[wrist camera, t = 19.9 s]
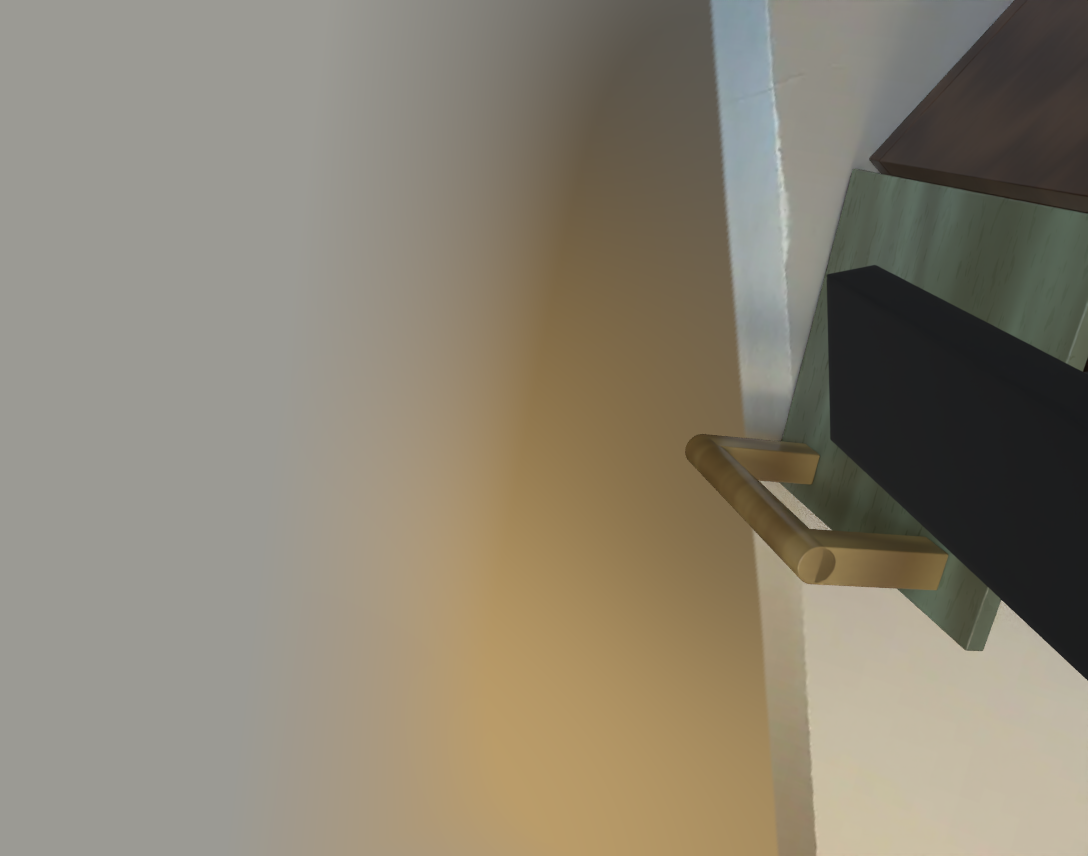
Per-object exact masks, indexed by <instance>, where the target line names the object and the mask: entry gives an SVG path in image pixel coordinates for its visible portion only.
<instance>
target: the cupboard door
mask: <svg viewBox="0 0 1088 856" xmlns="http://www.w3.org/2000/svg"><path fill="white" fill-rule="evenodd" d="M871 265H877V266H879V267H881V268H882V269H884V270H886V271H888V272H890V273H892V274H894V275H896V276H898V277H900V278H902V279H904V280H906V281H908V282H910V283H912V284H913V285H915V286H917V287H919V288H921V289H923V290H925V291H927V292H929V293H931V294H933V295H935V296H937V297H939V298H941V299H943V300H945V301H946V302H948V303H950V304H952V305H954V306H956V307H958V308H960V309H962V310H964V311H966V312H968V313H970V314H972V315H974V316H976V317H977V318H979V319H981V320H983V321H985V322H987V323H989V324H991V325H993V326H995V327H997V328H999V329H1001V330H1003V331H1005V332H1007V333H1009V334H1010V335H1012V336H1014V337H1016V338H1018V339H1020V340H1022V341H1024V342H1026V343H1028V344H1030V345H1032V346H1034V347H1036V348H1038V349H1040V350H1041V351H1043V352H1045V353H1047V354H1049V355H1051V356H1053V357H1055V358H1057V359H1059V360H1061V361H1063V362H1065V363H1067V364H1069V365H1071V366H1073V367H1074V368H1076V369H1078V370H1080V371H1082V372H1083V370H1084V367H1085V364H1086V361H1087V358H1088V213H1083V212H1078V211H1073V210H1067V209H1062V208H1057V207H1052V206H1047V205H1041V204H1036V203H1031V202H1026V201H1021V200H1015V199H1010V198H1005V197H1000V196H995V195H989V194H984V193H979V192H974V191H969V190H963V189H958V188H953V187H948V186H943V185H937V184H932V183H927V182H922V181H916V180H911V179H906V178H901V177H896V176H890V175H885V174H880V173H875V172H870V171H864V170H859V169H853V171H852V175H851V179H850V183H849V187H848V190H847V194H846V198H845V202H844V206H843V209H842V213H841V217H840V221H839V225H838V228H837V232H836V236H835V240H834V244H833V248H832V251H831V255H830V259H829V263H828V267H827V270H826V274H825V278H824V282H823V286H822V289H821V293H820V297H819V301H818V305H817V309H816V312H815V316H814V320H813V324H812V328H811V331H810V335H809V339H808V343H807V347H806V350H805V354H804V358H803V362H802V366H801V369H800V373H799V377H798V381H797V385H796V389H795V392H794V396H793V400H792V404H791V408H790V411H789V415H788V419H787V423H786V427H785V430H784V434H783V438H782V441H771V440H760V439H749V438H738V437H728V436H717V435H706V434H700V435H696V436H694V437H693V438H692V439H691V440H690V441H689V442H688V444H687V446H686V451H685V453H686V457H687V459H688V460H689V462H690V463H691V464H692V465H693V466H694V467H695V468H696V469H697V470H698V471H699V472H700V473H701V474H702V475H703V476H704V477H705V479H706V480H707V481H708V482H709V483H710V484H711V485H712V486H713V487H714V488H715V489H716V490H717V491H718V492H719V493H720V494H721V495H722V497H723V498H724V499H725V500H726V501H727V502H728V503H729V504H730V505H731V506H732V507H733V508H734V509H735V510H736V511H737V512H738V513H739V515H740V516H741V517H742V518H743V519H744V520H745V521H746V522H747V523H748V524H749V525H750V526H751V527H752V528H753V529H754V531H755V532H756V533H757V534H758V535H759V536H760V537H761V538H762V539H763V540H764V541H765V542H766V543H767V544H768V545H769V546H770V548H771V549H772V550H773V551H774V552H775V553H776V554H777V555H778V556H779V557H780V558H781V559H782V560H783V561H784V562H785V563H786V565H787V566H788V567H789V568H790V569H791V570H792V571H793V572H794V573H795V574H796V575H797V576H798V577H799V578H800V579H801V580H802V581H803V582H805V583H807V584H819V585H839V586H859V587H879V588H897V589H898V590H899V591H900V592H901V593H902V594H904V595H905V596H906V597H907V598H908V599H909V600H910V601H911V602H912V603H914V604H915V605H916V606H917V607H918V608H919V609H920V610H921V611H922V612H924V613H925V614H926V615H927V616H928V617H929V618H930V619H931V620H932V621H934V622H935V623H936V624H937V625H938V626H939V627H940V628H941V629H942V630H943V631H945V632H946V633H947V634H948V635H949V636H950V637H951V638H952V639H953V640H955V641H956V642H957V643H958V644H959V645H960V646H961V647H962V648H963V649H965V650H967V651H983V649H984V646H985V644H986V641H987V638H988V635H989V632H990V630H991V627H992V624H993V621H994V619H995V616H996V613H997V610H998V607H999V605H1000V602H1001V599H1000V598H999V597H998V596H997V595H996V594H995V593H994V592H993V591H992V590H991V589H989V588H988V587H987V586H986V585H985V584H984V583H983V582H982V581H981V580H980V579H979V578H978V577H977V576H976V575H975V574H973V573H972V572H971V571H970V570H969V569H968V568H967V567H966V566H965V565H964V564H963V563H962V562H961V561H960V560H958V559H957V558H956V557H955V556H954V555H953V554H952V553H951V552H950V551H949V550H948V549H947V548H946V547H945V546H944V545H942V544H941V543H940V542H939V541H938V540H937V539H936V538H935V537H934V536H933V535H932V534H931V533H930V532H929V531H928V530H926V529H925V528H924V527H923V526H922V525H921V524H920V523H919V522H918V521H917V520H916V519H915V518H914V517H913V516H911V515H910V514H909V513H908V512H907V511H906V510H905V509H904V508H903V507H902V506H901V505H900V504H899V503H898V502H897V501H895V500H894V499H893V498H892V497H891V496H890V495H889V494H888V493H887V492H886V491H885V490H884V489H883V488H882V487H880V486H879V485H878V484H877V483H876V482H875V481H874V480H873V479H872V478H871V477H870V476H869V475H868V474H867V473H866V472H864V471H863V470H862V469H861V468H860V467H859V466H858V465H857V464H856V463H855V462H854V461H853V460H852V459H851V458H850V457H848V456H847V455H846V454H845V453H844V452H843V451H842V450H841V449H840V448H839V447H838V446H837V445H836V444H835V443H833V442H832V441H831V440H830V404H829V360H828V317H827V274H831V273H836V272H841V271H846V270H851V269H856V268H861V267H866V266H871ZM758 480H760V481H772V482H779V483H780V484H781V485H783V486H784V487H785V488H786V489H787V490H788V491H789V492H790V493H791V494H793V495H794V496H795V497H796V498H797V499H798V500H799V501H800V502H801V503H803V504H804V505H805V506H806V507H807V508H808V509H809V510H810V511H811V512H813V513H814V514H815V515H816V516H817V517H818V518H819V519H820V520H821V521H823V522H824V523H825V524H826V525H827V526H828V527H829V528H830V529H831V530H817V529H809V528H808V527H807V526H806V525H805V524H804V523H803V522H802V521H801V520H800V519H799V518H797V517H796V516H795V515H794V514H793V513H792V512H791V511H790V510H789V509H788V508H787V507H786V506H785V505H784V504H783V503H781V502H780V501H779V500H778V499H777V498H776V497H775V496H774V495H773V494H772V493H771V492H770V491H769V490H768V489H767V488H766V487H764V486H763V485H762V484H761V483H760V482H759V481H758ZM832 530H833V531H832Z"/></svg>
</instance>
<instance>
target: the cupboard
mask: <svg viewBox="0 0 1088 856" xmlns="http://www.w3.org/2000/svg"><path fill="white" fill-rule="evenodd" d="M870 161H871V162H872V163H873V165H874V166H875V167H876V168H877V169H878V171H879V172H880V173H881V174H885V175H890V176H896V177H901V178H906V179H911V180H916V181H922V182H927V183H932V184H937V185H943V186H948V187H953V188H958V189H963V190H969V191H974V192H979V193H984V194H989V195H995V196H1000V197H1005V198H1010V199H1015V200H1021V201H1026V202H1031V203H1036V204H1041V205H1047V206H1052V207H1057V208H1062V209H1067V210H1073V211H1078V212H1083V213H1088V0H1015V1H1014V2H1013V3H1012V4H1011V5H1010V6H1009V7H1008V8H1007V9H1006V11H1005V12H1004V13H1003V14H1002V15H1001V16H1000V17H999V18H998V19H997V20H996V21H995V22H994V24H993V25H992V26H991V27H990V28H989V29H988V30H987V31H986V32H985V33H984V34H983V36H982V37H981V38H980V39H979V40H978V41H977V42H976V43H975V44H974V45H973V46H972V48H971V49H970V50H969V51H968V52H967V53H966V54H965V55H964V56H963V57H962V58H961V59H960V61H959V62H958V63H957V64H956V65H955V66H954V67H953V68H952V69H951V70H950V71H949V73H948V74H947V75H946V76H945V77H944V78H943V79H942V80H941V81H940V82H939V83H938V84H937V86H936V87H935V88H934V89H933V90H932V91H931V92H930V93H929V94H928V95H927V96H926V98H925V99H924V100H923V101H922V102H921V103H920V104H919V105H918V106H917V107H916V108H915V109H914V111H913V112H912V113H911V114H910V115H909V116H908V117H907V118H906V119H905V120H904V121H903V123H902V124H901V125H900V126H899V127H898V128H897V129H896V130H895V131H894V132H893V133H892V135H891V136H890V137H889V138H888V139H887V140H886V141H885V142H884V143H883V144H882V145H881V146H880V148H879V149H878V150H877V151H876V152H875V153H874V154H873V155H872V156H871V157H870ZM1087 371H1088V358H1087V361H1086V364H1085V367H1084V370H1083V372H1087Z"/></svg>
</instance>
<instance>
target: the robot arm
mask: <svg viewBox="0 0 1088 856" xmlns="http://www.w3.org/2000/svg"><path fill="white" fill-rule="evenodd" d="M827 317H828V360H829V404H830V440H831V441H832V442H833V443H835V444H836V445H837V446H838V447H839V448H840V449H841V450H842V451H843V452H844V453H845V454H846V455H847V456H848V457H850V458H851V459H852V460H853V461H854V462H855V463H856V464H857V465H858V466H859V467H860V468H861V469H862V470H863V471H864V472H866V473H867V474H868V475H869V476H870V477H871V478H872V479H873V480H874V481H875V482H876V483H877V484H878V485H879V486H880V487H882V488H883V489H884V490H885V491H886V492H887V493H888V494H889V495H890V496H891V497H892V498H893V499H894V500H895V501H897V502H898V503H899V504H900V505H901V506H902V507H903V508H904V509H905V510H906V511H907V512H908V513H909V514H910V515H911V516H913V517H914V518H915V519H916V520H917V521H918V522H919V523H920V524H921V525H922V526H923V527H924V528H925V529H926V530H928V531H929V532H930V533H931V534H932V535H933V536H934V537H935V538H936V539H937V540H938V541H939V542H940V543H941V544H942V545H944V546H945V547H946V548H947V549H948V550H949V551H950V552H951V553H952V554H953V555H954V556H955V557H956V558H957V559H958V560H960V561H961V562H962V563H963V564H964V565H965V566H966V567H967V568H968V569H969V570H970V571H971V572H972V573H973V574H975V575H976V576H977V577H978V578H979V579H980V580H981V581H982V582H983V583H984V584H985V585H986V586H987V587H988V588H989V589H991V590H992V591H993V592H994V593H995V594H996V595H997V596H998V597H999V598H1000V599H1001V600H1002V601H1003V602H1004V603H1005V604H1007V605H1008V606H1009V607H1010V608H1011V609H1012V610H1013V611H1014V612H1015V613H1016V614H1017V615H1018V616H1019V617H1020V618H1022V619H1023V620H1024V621H1025V622H1026V623H1027V624H1028V625H1029V626H1030V627H1031V628H1032V629H1033V630H1034V631H1035V632H1036V633H1038V634H1039V635H1040V636H1041V637H1042V638H1043V639H1044V640H1045V641H1046V642H1047V643H1048V644H1049V645H1050V646H1051V647H1053V648H1054V649H1055V650H1056V651H1057V652H1058V653H1059V654H1060V655H1061V656H1062V657H1063V658H1064V659H1065V660H1066V661H1067V662H1069V663H1070V664H1071V665H1072V666H1073V667H1074V668H1075V669H1076V670H1077V671H1078V672H1079V673H1080V674H1081V675H1082V676H1083V677H1085V678H1086V679H1087V680H1088V371H1087V372H1082V371H1080V370H1078V369H1076V368H1074V367H1073V366H1071V365H1069V364H1067V363H1065V362H1063V361H1061V360H1059V359H1057V358H1055V357H1053V356H1051V355H1049V354H1047V353H1045V352H1043V351H1041V350H1040V349H1038V348H1036V347H1034V346H1032V345H1030V344H1028V343H1026V342H1024V341H1022V340H1020V339H1018V338H1016V337H1014V336H1012V335H1010V334H1009V333H1007V332H1005V331H1003V330H1001V329H999V328H997V327H995V326H993V325H991V324H989V323H987V322H985V321H983V320H981V319H979V318H977V317H976V316H974V315H972V314H970V313H968V312H966V311H964V310H962V309H960V308H958V307H956V306H954V305H952V304H950V303H948V302H946V301H945V300H943V299H941V298H939V297H937V296H935V295H933V294H931V293H929V292H927V291H925V290H923V289H921V288H919V287H917V286H915V285H913V284H912V283H910V282H908V281H906V280H904V279H902V278H900V277H898V276H896V275H894V274H892V273H890V272H888V271H886V270H884V269H882V268H881V267H879V266H877V265H871V266H866V267H861V268H856V269H851V270H846V271H841V272H836V273H831V274H827Z"/></svg>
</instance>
